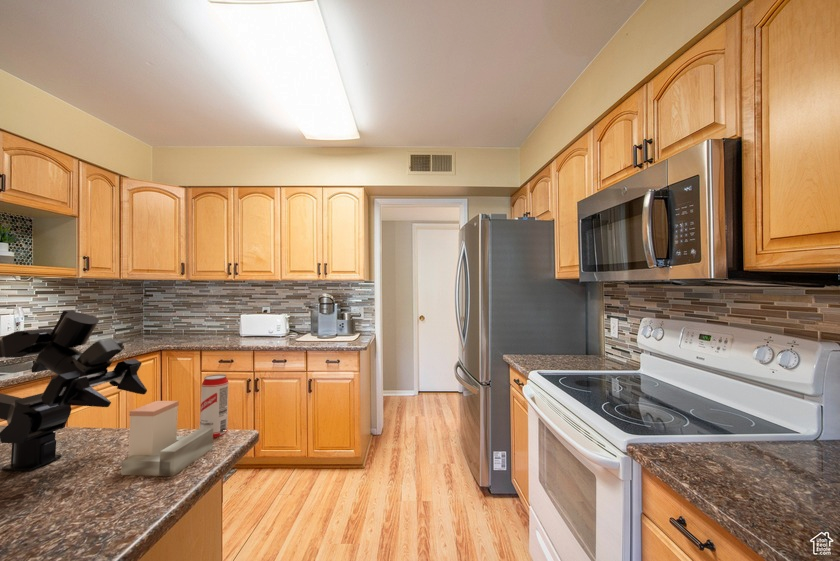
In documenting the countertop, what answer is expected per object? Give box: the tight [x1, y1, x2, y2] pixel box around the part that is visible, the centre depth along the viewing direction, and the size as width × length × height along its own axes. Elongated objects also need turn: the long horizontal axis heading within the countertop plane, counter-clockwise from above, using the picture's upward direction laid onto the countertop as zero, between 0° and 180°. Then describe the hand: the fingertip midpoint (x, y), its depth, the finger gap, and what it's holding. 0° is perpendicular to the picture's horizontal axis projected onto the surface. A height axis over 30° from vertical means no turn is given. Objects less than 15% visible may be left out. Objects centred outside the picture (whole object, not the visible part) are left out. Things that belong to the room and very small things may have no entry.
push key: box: [127, 400, 180, 458], centre depth 75 cm, size 5×7×12 cm
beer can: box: [199, 373, 230, 438], centre depth 90 cm, size 6×6×16 cm
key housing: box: [120, 427, 214, 477], centre depth 75 cm, size 16×18×6 cm
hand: (128, 398), depth 76 cm, fingers open, 9 cm apart
